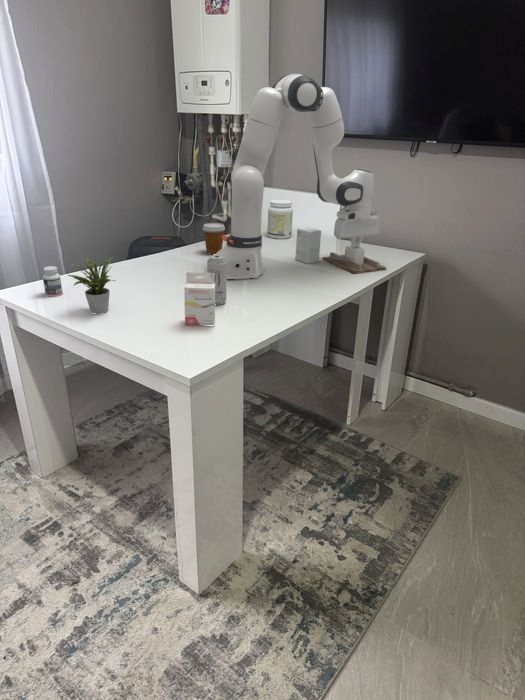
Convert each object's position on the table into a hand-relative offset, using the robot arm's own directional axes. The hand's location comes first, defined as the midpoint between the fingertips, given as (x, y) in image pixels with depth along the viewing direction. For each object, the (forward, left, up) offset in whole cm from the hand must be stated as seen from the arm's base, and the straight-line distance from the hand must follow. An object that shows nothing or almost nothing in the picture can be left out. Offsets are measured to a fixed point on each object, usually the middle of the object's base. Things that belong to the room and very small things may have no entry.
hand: (355, 247), depth 204 cm
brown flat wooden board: (0, 0, -7) cm, 7 cm away
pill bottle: (-115, +7, -7) cm, 115 cm away
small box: (-15, +12, -7) cm, 21 cm away
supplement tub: (-5, +54, -7) cm, 55 cm away
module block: (0, 0, -6) cm, 6 cm away
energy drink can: (-69, -20, -7) cm, 72 cm away
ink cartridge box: (-80, -34, -7) cm, 87 cm away
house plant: (-104, -12, -7) cm, 105 cm away
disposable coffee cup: (-47, +36, -7) cm, 60 cm away
